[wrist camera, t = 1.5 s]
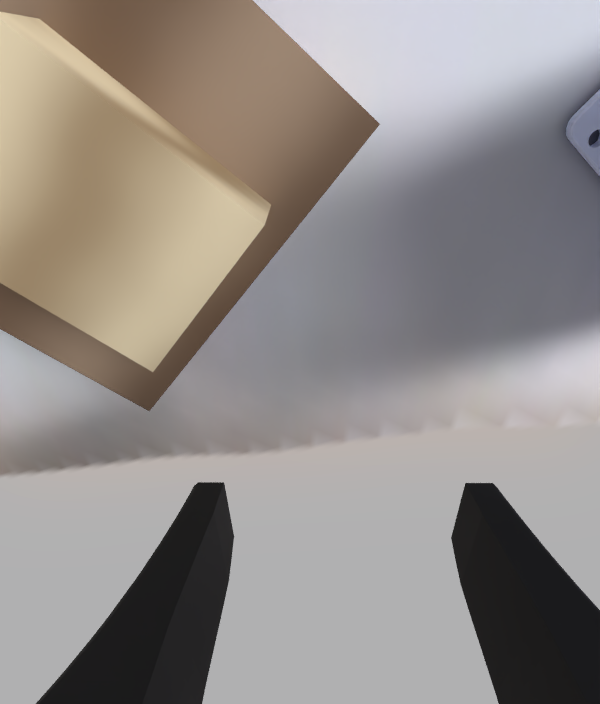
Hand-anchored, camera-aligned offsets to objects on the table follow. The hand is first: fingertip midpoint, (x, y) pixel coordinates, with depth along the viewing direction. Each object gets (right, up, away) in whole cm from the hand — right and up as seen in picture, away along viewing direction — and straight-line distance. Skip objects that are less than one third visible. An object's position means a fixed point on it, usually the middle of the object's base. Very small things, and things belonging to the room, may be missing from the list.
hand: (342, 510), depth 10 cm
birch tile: (-6, +8, +3) cm, 11 cm away
